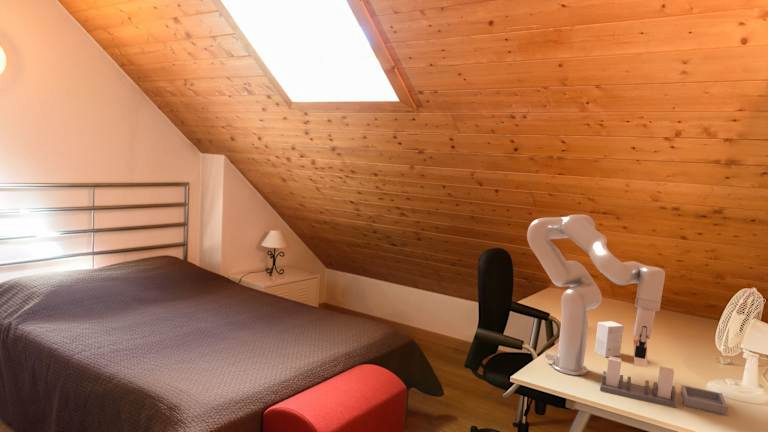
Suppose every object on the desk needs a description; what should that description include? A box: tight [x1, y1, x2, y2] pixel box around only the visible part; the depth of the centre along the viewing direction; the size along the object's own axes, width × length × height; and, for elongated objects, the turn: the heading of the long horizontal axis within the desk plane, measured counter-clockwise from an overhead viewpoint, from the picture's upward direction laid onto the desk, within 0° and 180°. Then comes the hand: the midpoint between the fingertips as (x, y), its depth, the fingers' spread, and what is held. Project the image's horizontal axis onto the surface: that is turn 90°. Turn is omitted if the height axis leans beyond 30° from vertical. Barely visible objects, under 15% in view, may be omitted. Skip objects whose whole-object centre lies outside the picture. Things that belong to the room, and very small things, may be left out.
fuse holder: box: [599, 356, 677, 408], centre depth 184 cm, size 23×10×10 cm, turn 65°
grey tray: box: [680, 384, 728, 416], centre depth 180 cm, size 12×12×3 cm
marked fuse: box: [633, 336, 648, 368], centre depth 184 cm, size 4×4×9 cm
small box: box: [594, 320, 624, 358], centre depth 223 cm, size 8×6×13 cm
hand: (639, 355), depth 184 cm, fingers closed on marked fuse, 4 cm apart
